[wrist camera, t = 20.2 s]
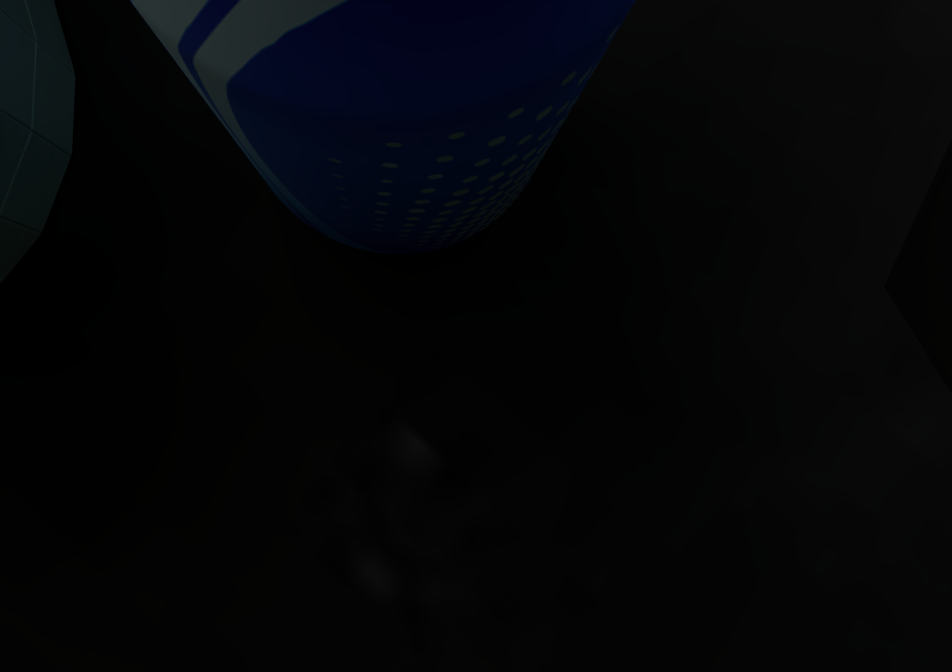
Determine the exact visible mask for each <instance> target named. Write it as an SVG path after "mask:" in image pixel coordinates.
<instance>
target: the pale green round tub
mask: <svg viewBox="0 0 952 672" xmlns="http://www.w3.org/2000/svg"><path fill="white" fill-rule="evenodd" d="M74 97H75V75H74V68H73V65H72V61H71V58H70V54H69V51H68V48H67V44H66V41H65V37H64V34H63V30H62V27H61V24H60V20H59V17H58V13H57V10H56V6H55V3H54V0H0V284H1V282H2V281H3V280H4V279H5V278H6V276H7V275H8V274H9V273H10V271H11V270H12V269H13V268H14V267H15V265H16V264H17V263H18V262H19V261H20V259H21V258H22V257H23V256H24V254H25V253H26V252H27V251H28V250H29V248H30V247H31V246H32V245H33V243H34V242H35V241H36V240H37V239H38V237H39V236H40V235H41V233H40V232H42V231H43V228H44V226H45V223H46V221H47V218H48V215H49V213H50V210H51V208H52V205H53V203H54V200H55V197H56V195H57V192H58V190H59V187H60V184H61V182H62V179H63V177H64V174H65V172H66V169H67V166H68V164H69V161H70V158H71V157H70V156H72V142H73V120H74Z"/></svg>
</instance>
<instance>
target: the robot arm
mask: <svg viewBox="0 0 952 672" xmlns="http://www.w3.org/2000/svg"><path fill="white" fill-rule="evenodd" d="M884 287H885V288H886V290H887V292H888V293H889V295H890V296H891V298H892V300H893V301H894V303H895V304H896V306H897V308H898V309H899V311H900V312H901V314H902V315H903V317H904V319H905V320H906V322H907V323H908V325H909V327H910V328H911V330H912V331H913V333H914V335H915V336H916V338H917V339H918V341H919V343H920V344H921V346H922V347H923V349H924V350H925V352H926V354H927V355H928V357H929V358H930V360H931V362H932V363H933V365H934V366H935V368H936V370H937V371H938V373H939V374H940V376H941V378H942V379H943V381H944V382H945V384H946V385H947V387H948V389H949V390H950V392H951V393H952V140H951V142H950V144H949V146H948V148H947V151H946V153H945V155H944V157H943V159H942V162H941V164H940V166H939V168H938V170H937V172H936V175H935V177H934V179H933V181H932V183H931V186H930V188H929V190H928V192H927V194H926V196H925V199H924V201H923V203H922V205H921V207H920V210H919V212H918V214H917V216H916V218H915V220H914V223H913V225H912V227H911V229H910V231H909V234H908V236H907V238H906V240H905V242H904V244H903V247H902V249H901V251H900V253H899V255H898V258H897V260H896V262H895V264H894V266H893V268H892V271H891V273H890V275H889V277H888V279H887V281H886V284H885V286H884Z"/></svg>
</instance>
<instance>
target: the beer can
mask: <svg viewBox="0 0 952 672" xmlns="http://www.w3.org/2000/svg"><path fill="white" fill-rule="evenodd" d="M130 1H131V3H132V4H133V5H134V7H135V8H136V9H137V11H138V12H139V13H140V15H141V16H142V17H143V19H144V20H145V21H146V23H147V24H148V25H149V27H150V28H151V29H152V31H153V32H154V33H155V35H156V36H157V37H158V39H159V40H160V41H161V43H162V44H163V45H164V47H165V48H166V49H167V51H168V52H169V53H170V55H171V56H172V57H173V59H174V60H175V61H176V63H177V64H178V65H179V67H180V68H181V69H182V71H183V72H184V73H185V75H186V76H187V77H188V79H189V80H190V81H191V83H192V84H193V85H194V87H195V88H196V89H197V91H198V92H199V93H200V95H201V96H202V97H203V99H204V100H205V101H206V103H207V104H208V105H209V107H210V108H211V109H212V111H213V112H214V113H215V115H216V116H217V117H218V119H219V120H220V121H221V123H222V124H223V125H224V127H225V128H226V129H227V131H228V132H229V133H230V135H231V136H232V137H233V139H234V140H235V141H236V143H237V144H238V145H239V147H240V148H241V149H242V151H243V152H244V153H245V155H246V156H247V157H248V159H249V160H250V161H251V163H252V164H253V165H254V167H255V168H256V169H257V171H258V172H259V173H260V175H261V176H262V177H263V179H264V180H265V182H266V183H267V184H268V186H269V187H270V188H271V190H272V191H273V192H274V193H275V194H276V196H277V197H278V198H279V199H280V201H281V202H282V203H283V204H284V205H285V206H286V207H287V208H288V209H289V210H290V211H291V212H292V213H293V214H294V215H296V216H297V217H298V218H299V219H300V220H302V221H303V222H304V223H305V224H307V225H308V226H310V227H311V228H313V229H314V230H316V231H317V232H319V233H321V234H323V235H325V236H327V237H328V238H330V239H333V240H335V241H337V242H340V243H342V244H344V245H348V246H351V247H354V248H357V249H361V250H366V251H370V252H376V253H385V254H412V253H421V252H427V251H432V250H436V249H440V248H443V247H447V246H450V245H452V244H455V243H457V242H460V241H462V240H464V239H466V238H468V237H470V236H472V235H474V234H476V233H478V232H479V231H481V230H482V229H484V228H485V227H487V226H488V225H490V224H491V223H492V222H493V221H495V220H496V219H497V218H498V217H500V216H501V215H502V214H503V213H504V212H505V211H506V210H507V209H508V208H509V207H510V206H511V205H512V203H513V202H514V201H515V200H516V199H517V197H518V196H519V195H520V194H521V192H522V191H523V189H524V188H525V186H526V185H527V183H528V182H529V180H530V178H531V177H532V175H533V173H534V172H535V170H536V168H537V167H538V165H539V163H540V161H541V160H542V158H543V156H544V155H545V153H546V151H547V150H548V148H549V146H550V144H551V143H552V141H553V139H554V138H555V136H556V134H557V133H558V131H559V129H560V127H561V126H562V124H563V122H564V121H565V119H566V117H567V116H568V114H569V112H570V110H571V109H572V107H573V105H574V104H575V102H576V100H577V99H578V97H579V95H580V93H581V92H582V90H583V88H584V87H585V85H586V83H587V82H588V80H589V78H590V76H591V75H592V73H593V71H594V70H595V68H596V66H597V65H598V63H599V61H600V59H601V58H602V56H603V54H604V53H605V51H606V49H607V48H608V46H609V44H610V42H611V41H612V39H613V37H614V36H615V34H616V32H617V31H618V29H619V27H620V25H621V24H622V22H623V20H624V19H625V17H626V15H627V14H628V12H629V10H630V8H631V7H632V5H633V3H634V2H635V0H130Z"/></svg>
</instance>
